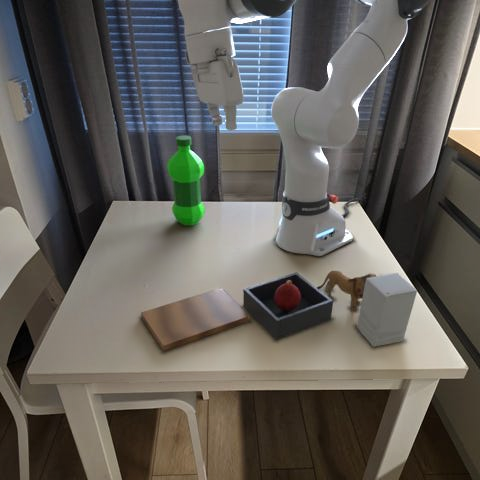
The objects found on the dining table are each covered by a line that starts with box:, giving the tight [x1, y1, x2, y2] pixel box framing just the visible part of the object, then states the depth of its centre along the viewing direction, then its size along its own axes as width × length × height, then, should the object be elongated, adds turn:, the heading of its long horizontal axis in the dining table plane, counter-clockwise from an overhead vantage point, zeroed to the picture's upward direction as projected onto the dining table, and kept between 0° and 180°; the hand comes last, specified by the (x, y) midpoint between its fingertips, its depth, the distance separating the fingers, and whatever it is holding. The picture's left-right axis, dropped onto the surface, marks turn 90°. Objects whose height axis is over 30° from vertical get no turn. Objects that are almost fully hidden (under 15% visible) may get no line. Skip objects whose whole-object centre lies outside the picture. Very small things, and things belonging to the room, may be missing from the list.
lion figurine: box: [316, 269, 377, 312], centre depth 103 cm, size 15×5×9 cm, turn 54°
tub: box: [242, 271, 334, 341], centre depth 100 cm, size 15×14×5 cm
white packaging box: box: [356, 272, 418, 348], centre depth 92 cm, size 7×7×13 cm
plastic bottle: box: [166, 135, 206, 226], centre depth 131 cm, size 10×10×25 cm
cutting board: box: [140, 287, 250, 352], centre depth 99 cm, size 20×13×2 cm, turn 120°
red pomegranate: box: [274, 280, 301, 312], centre depth 99 cm, size 6×6×8 cm
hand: (224, 127), depth 92 cm, fingers open, 8 cm apart
